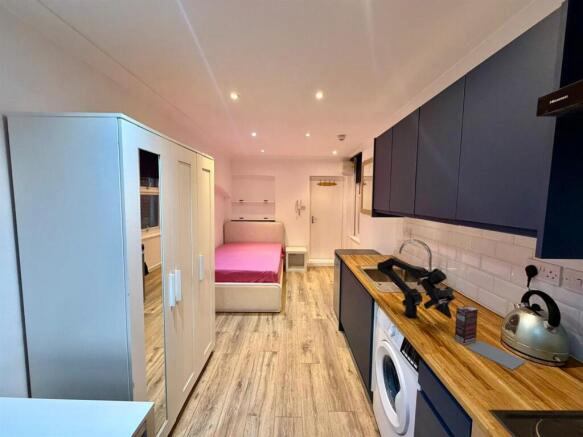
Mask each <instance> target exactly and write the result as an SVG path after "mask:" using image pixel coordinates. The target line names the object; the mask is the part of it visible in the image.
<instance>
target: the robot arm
mask: <svg viewBox="0 0 583 437" xmlns="http://www.w3.org/2000/svg"><path fill="white" fill-rule="evenodd" d="M376 266H377V267H376V268H377V270H378V271H379V272H380V273H382V274H383V275H385V276H387V277H388V278H389V279H390V280H391V282H392V283H394V285H395V286H396V287H397V289H399V290H400V292H402V293H403V298H404V299H403V300H402V301H401V302H402V306H404V311H403V312H402V315H404V316H405V317H406V318H408V319H416V318H417V319H418V318H420V316H419V315H418V307H417V306H420V305H421V303H422V302H423V295H422V293H421V292H419V290H418V289H417V288H411V287H410V286H409V285H408V284H407V283H406V282H405V280H403V279H402V278H401V277H400V276H399V275H398V274H397V273H396V272H395V271H394V266H395V267H397V268H398V269H400V270H403V271H405V272H406V273H408V274H409V275H410V276H411V277H412V278H414V279H416V280H417V284H416V285H417V286H418V287H419V286H421V287H422V288H423V289H424V291H425V296H426V297H427V296H428V297H429V300H427V301H426V302H424V303H423V307H424V308H425V310H429V309H431V307H432V306H434V307H433V309H434V310H436V311H438V312H439V313H441V314H443V315H444V316H446V317H447V318H448V319H451V318H452V317H453V316H452V313H451V310H450V304H451V302H452V301H454V300H456V297H455V295H454V290H453V289H452V287H451V286H446V287H444V289H441V288H440V287H437V285H440V284H441V283H442V282H444V281H445V280H447V275H446V274H445V273H444V272H443V271H442V270H440V269H439V268H434V269H432V271H429V270H427V269H426V268H425V267H424V266H423V267H422V266H417V265H412V264H410V263H407V262H405V261H403V260H401V259H399V258H397V257H389V258H388V259H386V260H384V261H381V262H377V265H376Z"/></svg>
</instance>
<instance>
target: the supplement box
mask: <svg viewBox="0 0 583 437" xmlns="http://www.w3.org/2000/svg"><path fill="white" fill-rule="evenodd" d="M478 311H479V309H478V308H476V307H475V306H474V307H473V306H471V305H465V306H459V307H456V312H455V327H454V328H455V329H454V341H456V342H458V343H459V344H462V345H463V346H464V345H469V344H473V343H476V342H477V328H478V326H477V325H478V313H479V312H478Z"/></svg>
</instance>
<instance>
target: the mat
mask: <svg viewBox="0 0 583 437" xmlns="http://www.w3.org/2000/svg"><path fill="white" fill-rule="evenodd" d="M465 348H466V349H467V350H469V351H471V352H473V353H475V354H478V355H479V356H482V357H483V358H486V359H488V360H490V361H492V362H493V363H496V364H497V365H500V366H502V367H505V368H506V369H509V370H511V371H514V370H516V369H517V368H519V367H521V366H522V365H524V364H525V362H526V363H527V360H525V359H522V358H520V357H518V356H516V355H513V354H511V353H509V352H507V351H504V350H502V349H499V348H497V347H495V346H493V345H490V344H488V343H486V342H484V341H481V340H479V341H476V342H473V343H471V344H470V345H469V344H468V345H467V346H465Z"/></svg>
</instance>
